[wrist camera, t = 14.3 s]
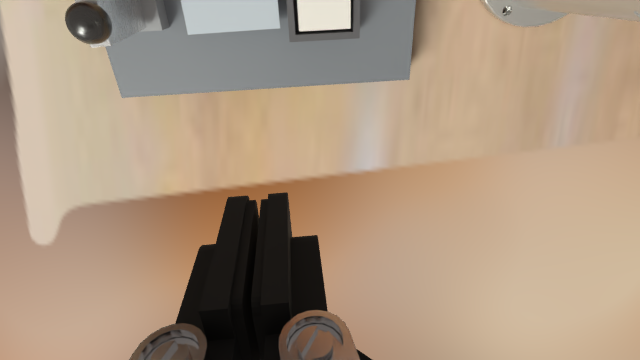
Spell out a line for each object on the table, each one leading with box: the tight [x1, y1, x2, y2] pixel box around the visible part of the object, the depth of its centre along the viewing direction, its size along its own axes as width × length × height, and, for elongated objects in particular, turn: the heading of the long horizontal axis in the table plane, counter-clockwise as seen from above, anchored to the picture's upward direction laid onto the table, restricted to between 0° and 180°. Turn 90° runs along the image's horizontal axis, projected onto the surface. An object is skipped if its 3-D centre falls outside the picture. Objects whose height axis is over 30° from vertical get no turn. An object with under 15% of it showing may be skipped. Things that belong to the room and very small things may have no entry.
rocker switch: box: [181, 0, 280, 35], centre depth 27 cm, size 7×4×1 cm, turn 92°
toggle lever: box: [65, 0, 147, 47], centre depth 22 cm, size 2×2×10 cm
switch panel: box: [105, 0, 416, 98], centre depth 29 cm, size 26×14×6 cm, turn 92°
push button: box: [296, 0, 351, 31], centre depth 28 cm, size 4×4×2 cm
